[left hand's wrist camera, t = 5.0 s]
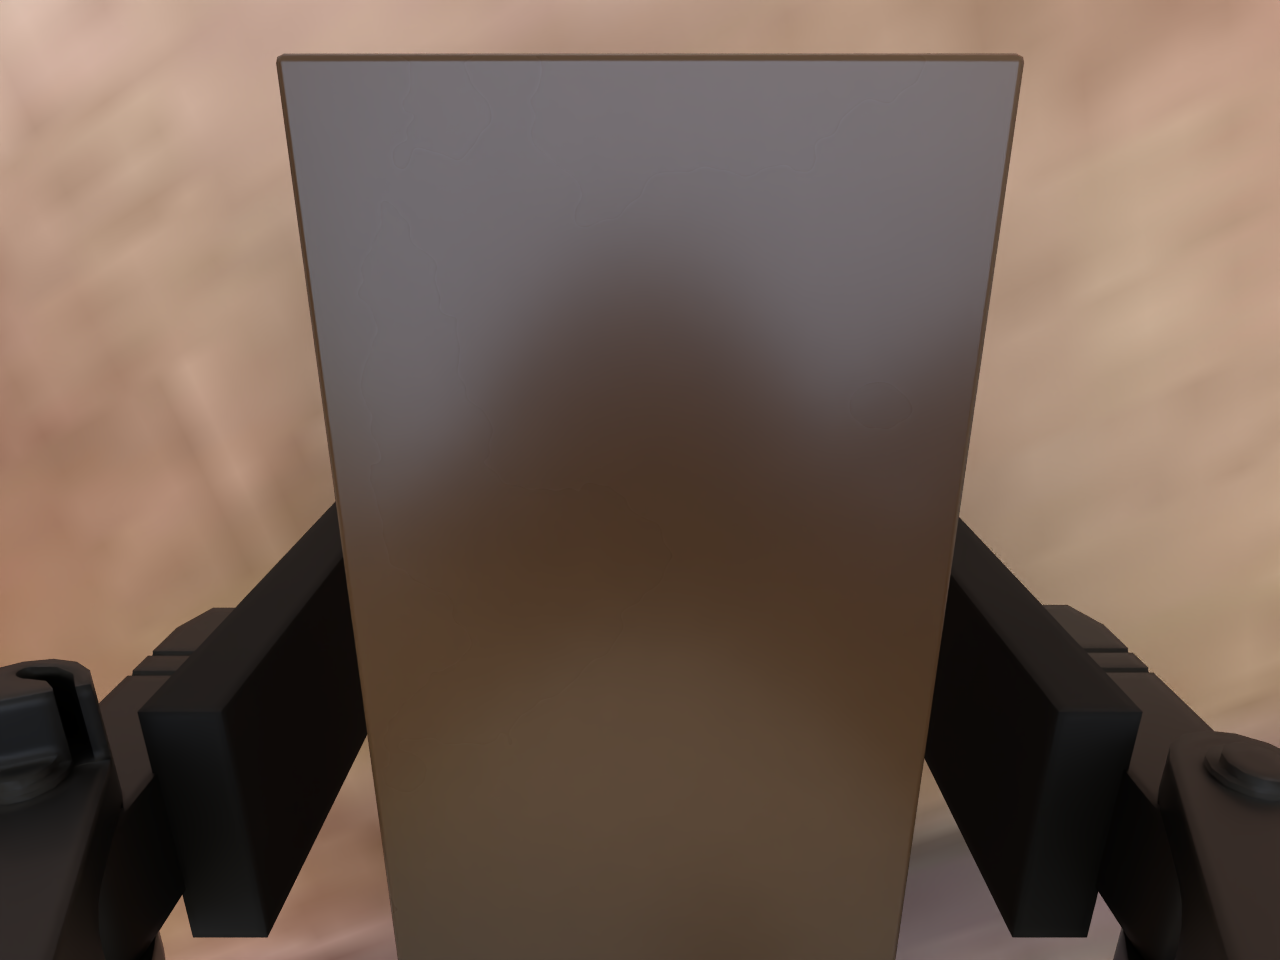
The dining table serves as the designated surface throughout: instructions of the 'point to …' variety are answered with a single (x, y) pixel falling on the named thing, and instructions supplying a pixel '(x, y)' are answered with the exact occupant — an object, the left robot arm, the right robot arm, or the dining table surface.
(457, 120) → the bar
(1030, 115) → the dining table surface
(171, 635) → the left robot arm
